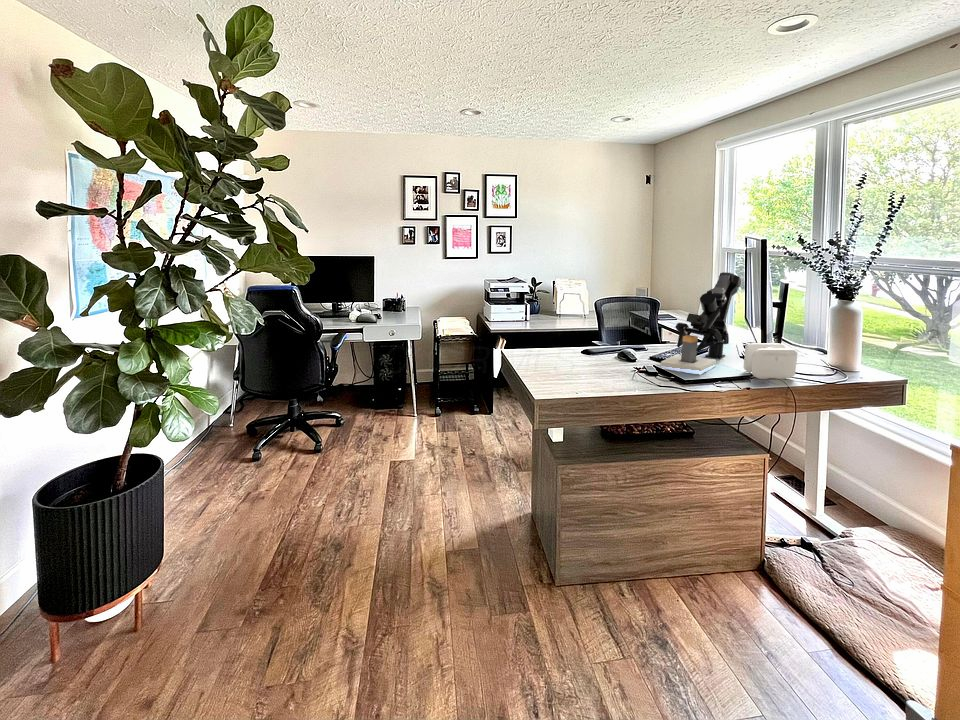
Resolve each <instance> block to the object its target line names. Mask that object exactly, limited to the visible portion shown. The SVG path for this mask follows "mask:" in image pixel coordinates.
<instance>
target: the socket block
mask: <svg viewBox="0 0 960 720" xmlns="http://www.w3.org/2000/svg"><path fill="white" fill-rule="evenodd" d="M681 355H682V354H679V353H676V354H674V355H672V356H669V357H668V358H666V359H664V360H661V361H660V367H661V366H665V367H672V368H680V369H691V370H699V371H702V370H704V369H706V368H708V367H710V366H713V365H715V364H716V363H717V359H715V358H709V357H700V356H696V362H695V363H687V362H681ZM715 366H716V365H715Z"/></svg>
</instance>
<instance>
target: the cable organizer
mask: <svg viewBox="0 0 960 720" xmlns="http://www.w3.org/2000/svg"><path fill="white" fill-rule="evenodd" d="M797 361H798V351H796V350H795V349H792V348H786V346H785V345H784V344H782V343H776V342H775V343H772V342H771V343H770V342H768V343H765V342H763V343H762V342H761V343H760V342H759V343H757V342H755V343H754V342H752V343H748V344H746V346H745V348H744V359H743V369H744V370H745V371H746V372H748V373H749V372H752V373H751V374H752V376H753V377H755V378H756V379H758V380H768V379H776V380H786V379H791V378H793V377H794V376H795V375H796V370H797Z"/></svg>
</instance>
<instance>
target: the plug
mask: <svg viewBox="0 0 960 720" xmlns="http://www.w3.org/2000/svg"><path fill="white" fill-rule="evenodd" d="M698 339H699V337H698V335H692V334H690V335H687V336H683V341H682V345H681V354H680V355H681V362H687V363H695V362H696V357H697V354H698V352H697V351H696V349H697V347H698Z"/></svg>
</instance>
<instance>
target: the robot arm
mask: <svg viewBox="0 0 960 720" xmlns="http://www.w3.org/2000/svg"><path fill="white" fill-rule="evenodd" d="M741 284H742V279H741V277H740V276H739V275H736V274H734V273H732V272H728V271H727V272H724V271H723V272H720V273H719V276H718V280H717V282H716V283H715V284H714V287H713V288H710V289H709V290H707V291H706V292H705V293H703V294H702V295H701V296H700V298H699V302H700V305H701V310H702V313H701V314H697V313H691V312H690V313H689V312H688V314H687V317H686V320H685V322H689V324H690V326H691V327H689V325H688V323H685V322H678V323H676V325H675V327H674V328H675V329H676V330H677V332H678V339H677V344H676V347H677V348H680V347H682V341H683V336H687V335H692V334H695V335H697V336H699V335H700V336H703V337H702V339H701V341H700V343H699V344H698V345H697V349H696V351H697V353H699V352H700V351H702V350H704V349H705V348H708V351H707V352H708V353H707V354H705V355H704V356H705V358H711V359H720V360H721V359H722V358H724V357H726V354H724V345H729V341H730V337H729V332H728V328H727V324H726V319H727V316H728V314H729V309H730V304H731V302H732V298H733V296H735V294H737V293H738V291H739V288H740V287H741V286H742V285H741Z"/></svg>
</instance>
